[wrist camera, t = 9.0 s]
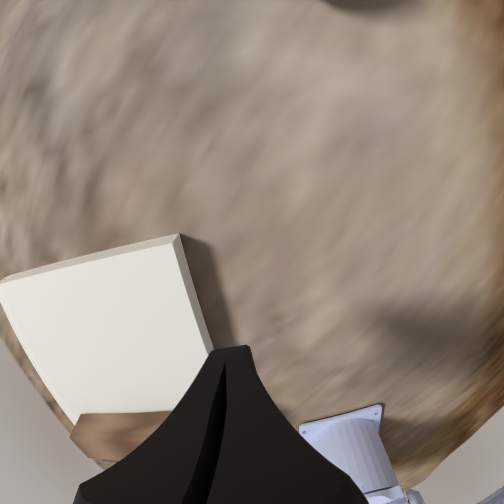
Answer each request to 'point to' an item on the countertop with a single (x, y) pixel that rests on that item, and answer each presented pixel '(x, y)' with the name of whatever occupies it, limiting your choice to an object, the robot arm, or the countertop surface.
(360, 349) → the countertop surface
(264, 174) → the countertop surface
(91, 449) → the folding leg
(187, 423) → the robot arm
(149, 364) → the stool seat
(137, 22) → the countertop surface
